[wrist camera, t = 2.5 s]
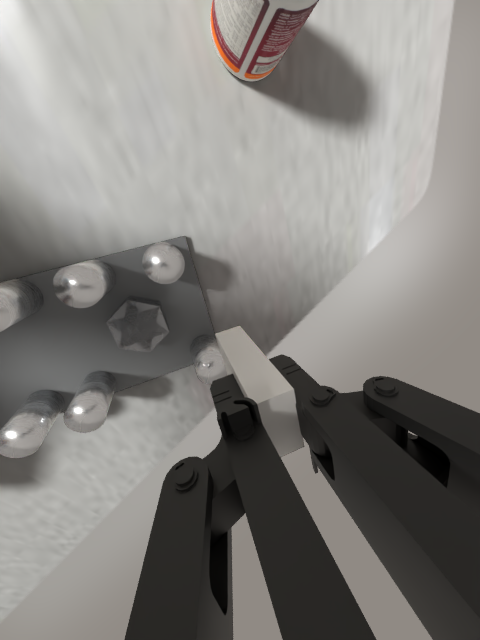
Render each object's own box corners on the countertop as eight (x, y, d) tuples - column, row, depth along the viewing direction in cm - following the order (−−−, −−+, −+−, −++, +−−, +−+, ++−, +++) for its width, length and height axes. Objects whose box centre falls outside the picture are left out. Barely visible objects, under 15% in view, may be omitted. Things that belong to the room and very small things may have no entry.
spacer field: (37, 420, 24) (7, 463, 19) (-54, 296, 19) (-123, 314, 14) (220, 354, 27) (232, 377, 23) (184, 235, 22) (190, 234, 18)
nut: (127, 351, 24) (124, 360, 22) (104, 302, 22) (99, 308, 20) (173, 336, 25) (173, 344, 23) (154, 288, 23) (154, 292, 21)
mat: (-5, 432, 23) (-9, 437, 23) (-108, 310, 18) (-116, 312, 18) (219, 352, 28) (220, 354, 27) (184, 235, 23) (184, 235, 22)
